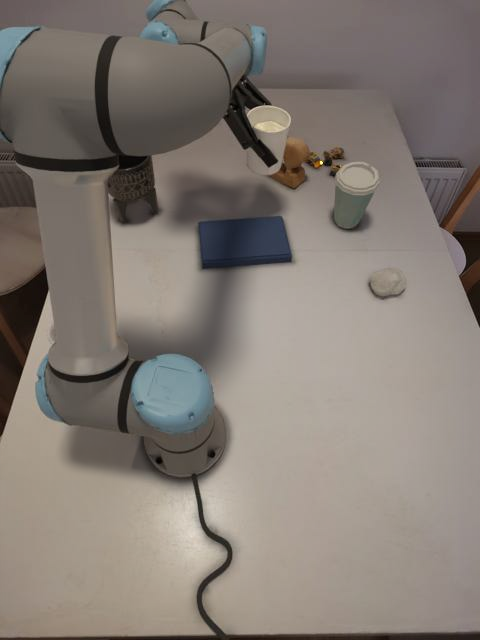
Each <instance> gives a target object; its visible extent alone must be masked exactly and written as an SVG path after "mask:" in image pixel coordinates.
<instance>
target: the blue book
mask: <svg viewBox="0 0 480 640" xmlns="http://www.w3.org/2000/svg"><path fill="white" fill-rule="evenodd" d="M197 226H198V236H199V247H200V249H199V250H200V259H201V268H202V270H203V269H216V268H217V269H218V268H229V267H230V268H231V267H241V266H254V265H268V264H280V263H281V264H282V263H291V262H292V259H293V255H292V251H291V247H290V243H289V238H288V234H287V233H288V232H287V230H286V226H285V222H284V217H283V216H282V215H270V216H255V217H242V218H227V219H213V220H200V221H198V222H197Z"/></svg>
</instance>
